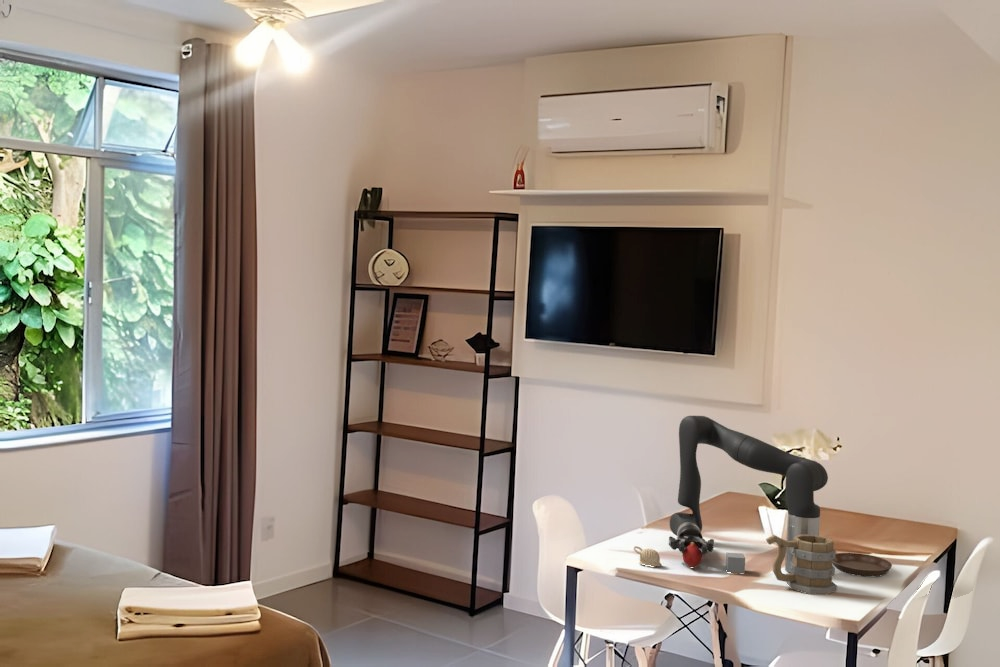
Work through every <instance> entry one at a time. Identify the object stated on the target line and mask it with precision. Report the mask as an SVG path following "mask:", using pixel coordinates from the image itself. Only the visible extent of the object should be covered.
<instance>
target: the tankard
mask: <svg viewBox="0 0 1000 667" xmlns="http://www.w3.org/2000/svg"><path fill="white" fill-rule="evenodd" d="M786 540H787V539H784V538H781V537H779V536H777V535H776V534H772V535H771V536H769V537H767V538H766V539H765V541H766V542H767V544H768V545H770V546H771V545H772V544H777V550H776V551H777V552H776V555H775V558H774V560H773V561H772V572H773V574H774V577H775V578H776V580H777V581H781V582H785V584H786V583H787V584H788V585H789V586H790V587H791V588H792V589H791V588H790V587H789V586H788V585H787V584H786V585H787V586H788V587H789V588H790V589H791V590H793V589H795V590H799V591H802V592H801V593H803V592H806V593H805V594H807V593H810V594H809V595H825V594H828V595H829V593H830V594H832V593H834V592H836V591H837V588H838V587H837V584H835V582H833V577H834V576H835V574H836V573H835V572H836V571H835V570H836V567H835V566H834V564H833V559H835V556H836V554H837V553H836V552H837V550H836V549H834V542H835V541H833V540H832V539H831V538H830V537H825V536H822V535H819V536H817V535H815V536H814V535H798V536H795V537H794V539H793V541H786ZM786 547H791V550H790V553H791V554H792V555H793V559H792V562H790V570H791V571H792V573H786V574H785V573H783V572H782V564H783V561H784V559H785V558H786ZM795 590H794V591H795ZM799 591H798V592H799Z"/></svg>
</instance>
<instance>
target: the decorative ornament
mask: <svg viewBox="0 0 1000 667" xmlns="http://www.w3.org/2000/svg"><path fill="white" fill-rule="evenodd" d="M637 549H638V550H639V551H638V550H637ZM633 551H634V552H635V553H636V554H637V555H639V562H638V563H639V564H640V565H641V564H645V565H651V566H657V567H662V563H661V562H660V561H661V560H660V559H661V557H660V554H659V553H658V551H657V550H656V549H654V548H641V547H640V546H636V545H635V546H633Z"/></svg>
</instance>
